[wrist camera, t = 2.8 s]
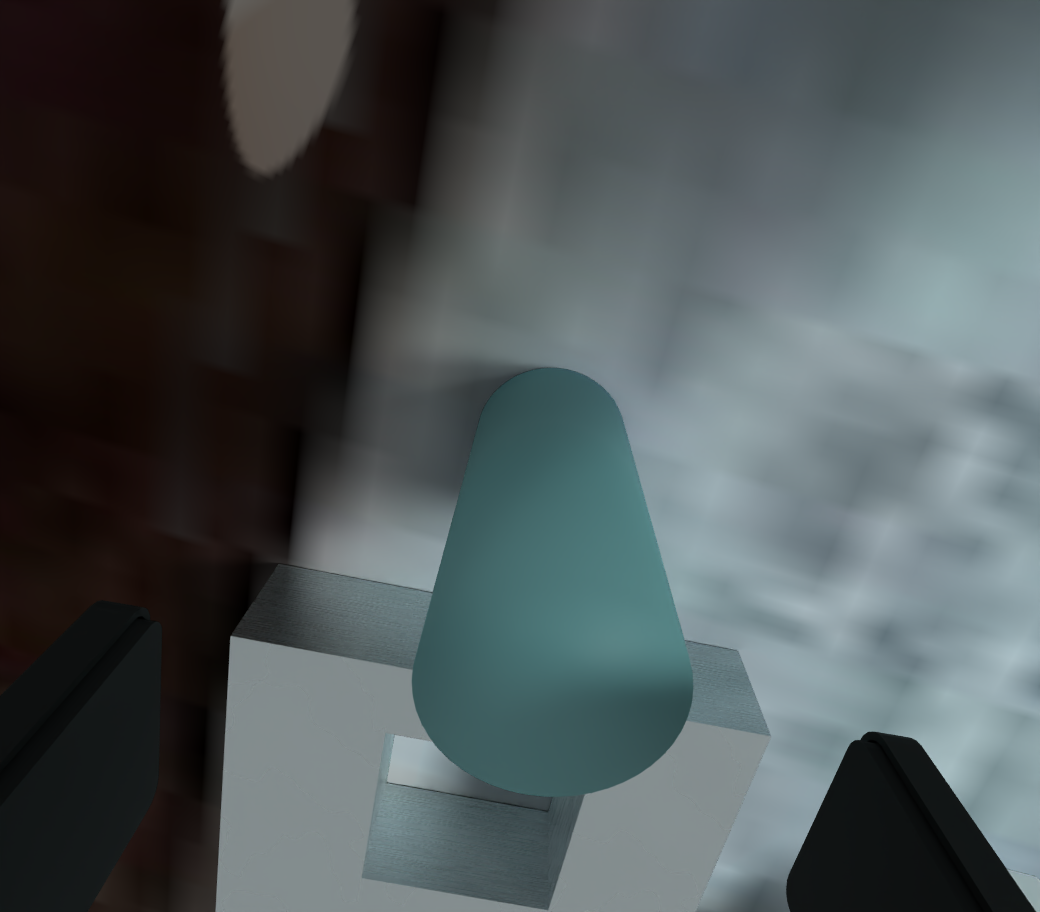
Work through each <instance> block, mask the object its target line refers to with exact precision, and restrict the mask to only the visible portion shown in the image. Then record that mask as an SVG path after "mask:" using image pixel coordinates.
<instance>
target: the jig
mask: <svg viewBox="0 0 1040 912" xmlns="http://www.w3.org/2000/svg"><path fill="white" fill-rule="evenodd" d="M431 597H432V593H430V592H425V591H420V590H414V589H409V588H404V587H399V586H393V585H388V584H383V583H378V582H372V581H367V580H362V579H357V578H351V577H346V576H341V575H336V574H330V573H325V572H320V571H315V570H309V569H304V568H299V567H294V566H288V565H283V564H278V566H277V567H276V569H275V570H274V572H273V573H272V575H271V576H270V578H269V579H268V581H267V582H266V584H265V585H264V587H263V588H262V590H261V591H260V593H259V594H258V596H257V597H256V599H255V600H254V602H253V603H252V605H251V606H250V608H249V609H248V611H247V612H246V614H245V615H244V617H243V618H242V620H241V621H240V623H239V624H238V626H237V627H236V629H235V630H234V632H233V633H232V635H231V637H230V656H229V674H228V692H227V711H226V729H225V747H224V766H223V784H222V802H221V821H220V839H219V857H218V876H217V894H216V912H696V910H697V907H698V905H699V903H700V900H701V898H702V896H703V893H704V891H705V889H706V886H707V884H708V882H709V879H710V877H711V875H712V872H713V870H714V868H715V866H716V863H717V861H718V859H719V856H720V854H721V852H722V849H723V847H724V845H725V842H726V840H727V838H728V835H729V833H730V831H731V828H732V826H733V824H734V822H735V819H736V817H737V815H738V812H739V810H740V808H741V805H742V803H743V801H744V798H745V796H746V794H747V791H748V789H749V787H750V784H751V782H752V780H753V778H754V775H755V773H756V771H757V768H758V766H759V764H760V761H761V759H762V757H763V754H764V752H765V750H766V747H767V745H768V743H769V741H770V738H771V735H770V732H769V729H768V727H767V724H766V722H765V719H764V716H763V714H762V711H761V709H760V706H759V703H758V701H757V698H756V696H755V693H754V690H753V688H752V685H751V683H750V680H749V677H748V675H747V672H746V670H745V667H744V664H743V662H742V659H741V657H740V654H739V651H735V650H730V649H724V648H719V647H714V646H709V645H703V644H698V643H693V642H688V641H685V644H686V648H687V651H688V655H689V659H690V663H691V668H692V672H693V688H694V689H693V697H692V704H691V708H690V711H689V715H688V718H687V720H686V722H685V725H684V727H683V729H682V731H681V733H680V734H679V736H678V737H677V739H676V740H675V742H674V743H673V745H672V746H671V747H670V748H669V749H668V750H667V752H666V753H665V754H664V755H663V756H662V757H661V758H660V759H658V760H657V761H656V762H655V763H654V764H653V765H652V766H650V767H649V768H647V769H646V770H644V771H643V772H641V773H640V774H638V775H637V776H635V777H633V778H631V779H629V780H627V781H625V782H623V783H621V784H618V785H616V786H613V787H611V788H608V789H604V790H601V791H597V792H593V793H588V794H582V795H576V796H564V797H553V798H552V801H551V805H550V808H549V812H546V811H540V810H535V809H529V808H524V807H518V806H512V805H507V804H501V803H496V802H490V801H485V800H479V799H473V798H468V797H462V796H457V795H451V794H445V793H440V792H434V791H429V790H423V789H418V788H412V787H406V786H401V785H395V784H390V783H386V782H387V776H388V770H389V764H390V759H391V753H392V747H393V741H394V735H399V736H405V737H410V738H416V739H421V740H427V741H432V740H431V739H430V737H429V736H428V734H427V732H426V731H425V729H424V727H423V726H422V724H421V721H420V719H419V716H418V714H417V712H416V708H415V704H414V700H413V694H412V671H413V664H414V660H415V657H416V653H417V649H418V645H419V642H420V638H421V634H422V630H423V627H424V623H425V619H426V616H427V612H428V608H429V605H430V601H431ZM432 742H433V741H432Z"/></svg>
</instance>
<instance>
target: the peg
mask: <svg viewBox="0 0 1040 912" xmlns="http://www.w3.org/2000/svg"><path fill="white" fill-rule="evenodd" d="M693 689H694V688H693V672H692V668H691V663H690V659H689V655H688V651H687V648H686V644H685V641H684V637H683V634H682V630H681V626H680V623H679V619H678V616H677V612H676V608H675V605H674V601H673V598H672V594H671V591H670V587H669V583H668V580H667V576H666V573H665V569H664V566H663V562H662V558H661V555H660V551H659V548H658V544H657V540H656V537H655V533H654V530H653V526H652V523H651V519H650V515H649V512H648V508H647V505H646V501H645V497H644V494H643V490H642V487H641V483H640V480H639V476H638V472H637V469H636V465H635V462H634V458H633V455H632V451H631V447H630V444H629V440H628V437H627V433H626V429H625V426H624V422H623V419H622V416H621V413H620V411H619V408H618V407H617V405H616V403H615V401H614V400H613V399H612V397H611V396H610V395H609V393H608V392H607V391H606V390H605V389H604V388H603V387H602V386H600V385H599V384H598V383H597V382H595V381H594V380H592V379H590V378H589V377H587V376H585V375H583V374H580V373H578V372H575V371H571V370H567V369H560V368H542V369H535V370H531V371H527V372H525V373H522V374H519V375H517V376H515V377H514V378H512V379H510V380H508V381H507V382H506V383H504V384H503V385H502V386H500V387H499V388H498V389H497V390H496V391H495V392H494V394H493V395H492V396H491V397H490V399H489V400H488V402H487V403H486V405H485V407H484V409H483V411H482V413H481V416H480V419H479V423H478V427H477V430H476V434H475V438H474V441H473V445H472V449H471V453H470V456H469V460H468V464H467V467H466V471H465V475H464V478H463V482H462V486H461V490H460V493H459V497H458V501H457V504H456V508H455V512H454V516H453V519H452V523H451V527H450V530H449V534H448V538H447V541H446V545H445V549H444V553H443V556H442V560H441V564H440V567H439V571H438V575H437V579H436V582H435V586H434V590H433V593H432V597H431V601H430V605H429V608H428V612H427V616H426V619H425V623H424V627H423V630H422V634H421V638H420V642H419V645H418V649H417V653H416V657H415V660H414V664H413V671H412V694H413V700H414V704H415V708H416V712H417V714H418V716H419V719H420V721H421V724H422V726H423V727H424V729H425V731H426V732H427V734H428V736H429V737H430V739H431V740H432V741H433V743H434V744H435V745H436V746H437V748H438V749H439V750H440V751H441V752H442V753H443V754H444V755H445V756H446V757H447V758H448V759H449V760H450V761H452V762H453V763H454V764H456V765H457V766H458V767H460V768H461V769H462V770H464V771H465V772H467V773H469V774H470V775H472V776H474V777H475V778H477V779H480V780H482V781H484V782H486V783H488V784H490V785H493V786H496V787H499V788H502V789H505V790H508V791H512V792H516V793H521V794H526V795H534V796H545V797H564V796H576V795H582V794H588V793H593V792H597V791H601V790H604V789H608V788H611V787H613V786H616V785H618V784H621V783H623V782H625V781H627V780H629V779H631V778H633V777H635V776H637V775H638V774H640V773H641V772H643V771H644V770H646V769H647V768H649V767H650V766H652V765H653V764H654V763H655V762H656V761H657V760H658V759H660V758H661V757H662V756H663V755H664V754H665V753H666V752H667V750H668V749H669V748H670V747H671V746H672V745H673V743H674V742H675V740H676V739H677V737H678V736H679V734H680V733H681V731H682V729H683V727H684V725H685V722H686V720H687V718H688V715H689V711H690V708H691V704H692V697H693Z"/></svg>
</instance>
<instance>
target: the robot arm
mask: <svg viewBox="0 0 1040 912" xmlns="http://www.w3.org/2000/svg"><path fill="white" fill-rule="evenodd" d="M161 648H162V627H161V624H160V623H159V622H156V621H151V620H150V614H149V612H148V610H147V609H146V608H144V607H138V606H132V605H126V604H120V603H114V602H109V601H103V600H102V601H97V602H96V603H94V604H93V605H92V606H90V607H89V608H88V609H87V610H86V611H85V612H84V613H83V614H82V615H81V616H80V617H79V618H78V619H77V620H76V621H75V622H74V623H73V624H72V625H71V626H70V627H69V628H68V629H67V630H66V631H65V632H64V633H63V634H62V635H61V636H60V637H59V638H58V639H57V640H56V641H55V642H54V643H53V644H52V645H51V646H50V647H49V648H48V649H47V650H46V651H45V652H44V653H43V654H42V655H41V656H40V657H39V658H38V659H37V660H36V661H35V662H34V663H33V664H32V665H31V666H30V667H29V668H28V669H27V670H26V671H25V672H24V673H23V674H22V675H21V676H20V677H19V678H18V679H17V680H16V681H15V682H14V683H13V684H12V685H11V686H10V687H9V688H8V689H7V690H6V691H5V692H4V693H3V694H2V695H1V696H0V912H87V911H88V910H89V908H90V906H91V905H92V903H93V901H94V900H95V898H96V896H97V895H98V893H99V891H100V890H101V888H102V886H103V885H104V883H105V881H106V879H107V878H108V876H109V874H110V873H111V871H112V869H113V868H114V866H115V864H116V863H117V861H118V859H119V858H120V856H121V854H122V853H123V851H124V849H125V848H126V846H127V844H128V843H129V841H130V839H131V837H132V836H133V834H134V832H135V831H136V829H137V827H138V826H139V824H140V822H141V821H142V819H143V817H144V816H145V814H146V812H147V811H148V809H149V807H150V805H151V803H152V800H153V798H154V795H155V792H156V788H157V784H158V776H159V735H160V691H161ZM786 894H787V902H788V906H789V909H790V912H1036V911H1035V909H1034V908H1033V906H1032V905H1031V903H1030V902H1029V901H1028V899H1027V898H1026V896H1025V895H1024V893H1023V892H1022V890H1021V889H1020V888H1019V886H1018V885H1017V883H1016V882H1015V880H1014V879H1013V877H1012V876H1011V875H1010V873H1009V872H1008V870H1007V869H1006V867H1005V866H1004V864H1003V863H1002V861H1001V860H1000V859H999V857H998V856H997V854H996V853H995V851H994V850H993V848H992V847H991V846H990V844H989V843H988V841H987V840H986V838H985V837H984V835H983V834H982V833H981V831H980V830H979V828H978V827H977V825H976V824H975V822H974V821H973V820H972V818H971V817H970V815H969V814H968V812H967V811H966V809H965V808H964V807H963V805H962V804H961V802H960V801H959V799H958V798H957V796H956V795H955V794H954V792H953V791H952V789H951V788H950V786H949V785H948V783H947V782H946V781H945V779H944V778H943V776H942V775H941V773H940V772H939V770H938V769H937V768H936V766H935V765H934V763H933V762H932V760H931V759H930V757H929V756H928V755H927V753H926V752H925V750H924V749H923V747H922V746H921V745H920V744H919V743H918V742H917V741H916V740H914V739H912V738H909V737H903V736H897V735H891V734H885V733H879V732H868V733H866V734H865V735H863V737H862V738H861V740H855V741H853V742H852V743H851V744H850V745H849V747H848V749H847V751H846V753H845V755H844V757H843V760H842V762H841V764H840V766H839V768H838V770H837V772H836V775H835V777H834V779H833V781H832V783H831V785H830V788H829V790H828V792H827V794H826V796H825V798H824V800H823V803H822V805H821V807H820V809H819V811H818V813H817V815H816V818H815V820H814V822H813V824H812V826H811V828H810V830H809V833H808V835H807V837H806V839H805V841H804V843H803V845H802V848H801V850H800V852H799V854H798V856H797V858H796V860H795V863H794V865H793V867H792V869H791V871H790V873H789V876H788V879H787V886H786Z"/></svg>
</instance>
